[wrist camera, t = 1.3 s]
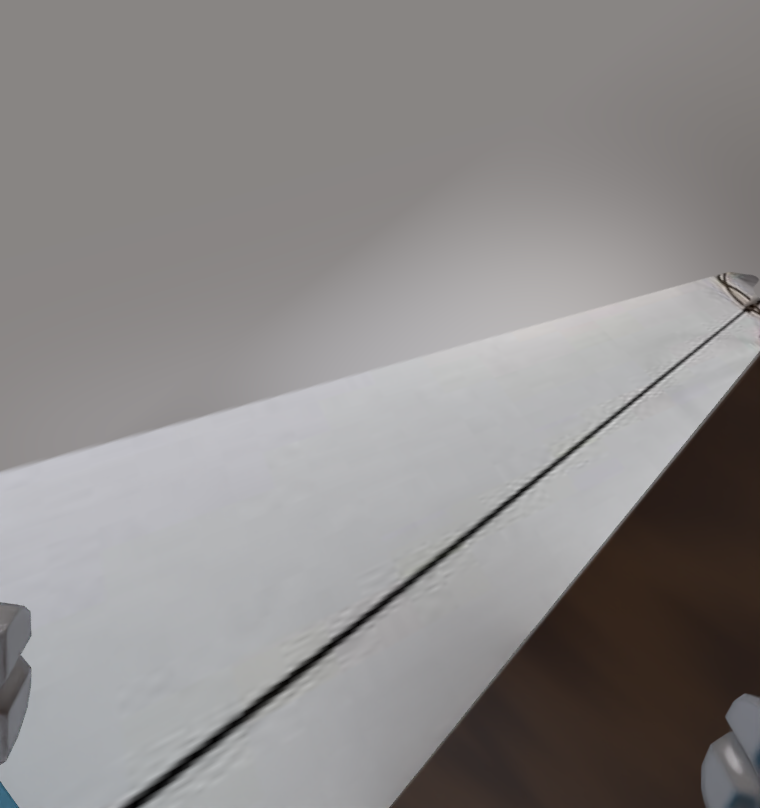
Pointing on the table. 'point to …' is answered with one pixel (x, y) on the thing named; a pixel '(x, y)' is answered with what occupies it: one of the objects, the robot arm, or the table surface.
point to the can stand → (629, 648)
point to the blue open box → (6, 799)
